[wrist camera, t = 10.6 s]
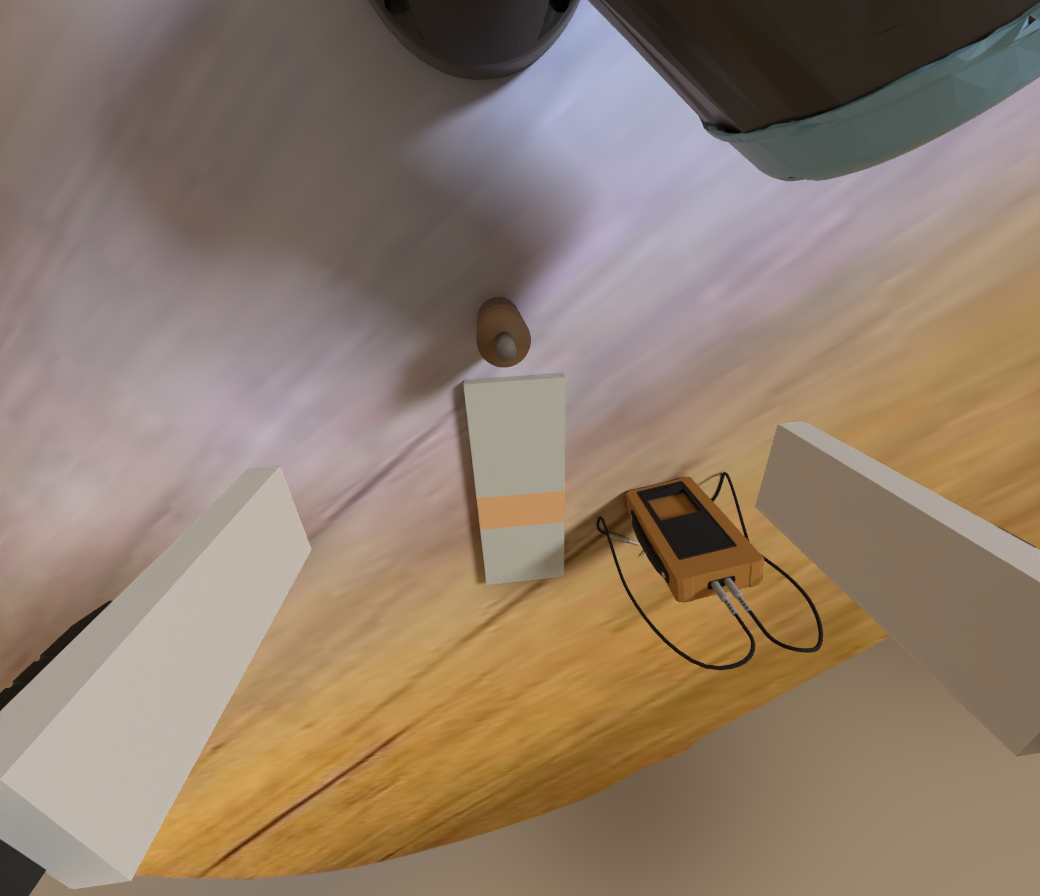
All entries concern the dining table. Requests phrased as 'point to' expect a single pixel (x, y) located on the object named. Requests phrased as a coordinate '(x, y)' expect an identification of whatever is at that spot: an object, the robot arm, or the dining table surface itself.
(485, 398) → the panel
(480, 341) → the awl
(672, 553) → the multimeter
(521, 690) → the dining table surface
